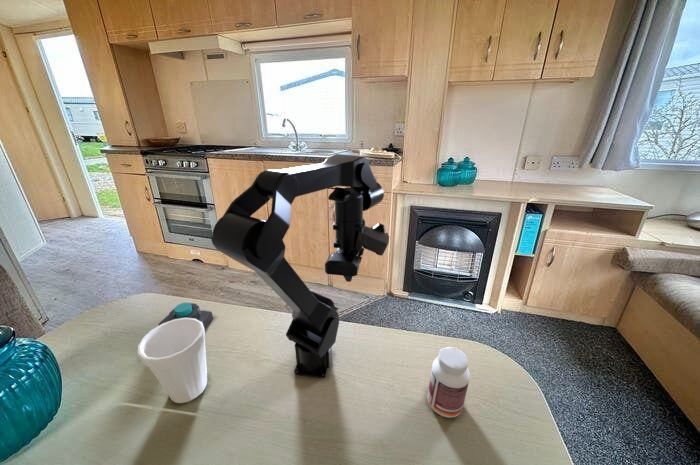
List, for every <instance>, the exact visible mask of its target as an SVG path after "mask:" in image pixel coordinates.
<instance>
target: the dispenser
mask: <svg viewBox="0 0 700 465" xmlns="http://www.w3.org/2000/svg"><path fill="white" fill-rule="evenodd" d="M189 303H190V304H191V306H192V310H193V311H192V313H191V314H189V315H187V316H186V317H181V318H195V319H197V320H199V321H200V322H202V324H203V326H204V329H206V328H207V326H208V325H209V324H210V323H211V322H212V321H213V319H214V315H213V312H212V311H210V310H201V307H200V305H198V304H197V303H192V302H189ZM174 319H180V318H178V317H176V315H175V311H174V308H173V309H171V311H170V312H169V313H168V315H166V316H165V317H164V318H163V319H162V320H161V321H160V322H159V323H157V324H158V325H157V326H159V325H161V324H163V323H166V322H168V321H171V320H174Z"/></svg>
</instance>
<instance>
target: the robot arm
mask: <svg viewBox="0 0 700 465" xmlns="http://www.w3.org/2000/svg"><path fill="white" fill-rule="evenodd" d="M367 160H368V159H367V157H366V156H363V155H362V156H361V155H354V154H353V155H351V154H341V153H336V154H335V153H334V154H333V155H330V156H328V157H327V158H326V159H325V160H324V161H323V162H321V163H315V164H309V165H301V166H294V167H289V168H282V169H265V170H263V171H261V172H260V173H259V174H258V175H256V177H255V179H254V180H253V182H252V184H251V185H250V186H249V187H248V188H246V190H244V191H243V192H242V193H240V194H239V195H238V196H237V197H236V198H234V199H233V200H232V201H231V203H230V204H229V206H228V207H227V208H226V210H225V212H224V214H223V215H222V216H221V217H220V218H219V219H218V221H217V222H216V223H215V224H214V227H213V230H212V237H211V240H210V241H211V243H212V245H213V247H214V248H215V249H216V250H217V251H218V252H220V253H222V254H224V255H225V256H227V257H228V258H230V259H232V260H233V261H235V262H237V263H239V264H240V265H243V266H245V267H247V268H249V269H251V270H252V271H253V272H255V273H256V274H257V275H258V276H259V277H260V278H261V280H263V282H264V283H266V284H267V285H268V286H269V288H271V290H273V291H274V293H276V295H278V297H280V298H281V300H282V301H283V302H284V303H285V304H286V305H287V306H288V307H289V308H290V309H291V310H292V312H291V317H292V320H291V322H290V325H289V326H288V328H287V331H286V333H285V336H286V338H287V339H288V340H289V341H291V342H293V343H294V352H295V361H296V362H295V363H296V365H295V368H294V370H293V373H294V375H295V376H303V377H311V378H319V379H325V378H326V376H327V372H328V369H330V368H331V364H332V360H333V355H332V354H333V351H332V350H333V348H332V347H333V346H334V345H335V343H336V340H337V335H338V330H339V325H340V319H339V318H340V316H339V313H338V310H339V307H337V306H336V305H335V303H334V301H333V300H332V299H331V298H329V297H327V296H324V295H322V294H320V293H317V292H315V291H313V290H310V288H309V287H308V285H307V284H306V283H305V282H304V281H303V279H302V278H301V277H300V276H299V274H298V273H297V272H296V270H295V269H294V268H293V266H292V265H291V264H290V263H289V261H288V260H287V259H286V256H285V253H286V244H285V242H284V240H283V239H284V238H285V236H286V234H287V232H288V230H289V229H290V226H291V215H292V214H291V212H292V205H293V202H294V201H295V199H296V198H299V197H301V196H306V195H309V194H312V193H316V192H319V191H323V190H326V189H330V188H334V189H333V191H332V192H331V193H330V194H329V196H328V197H327V199H328V200H329V201H332V202H333V201H334V223H333V224H332V230H333V231H335V240H334V241H333V249H337V250H336V251H335V252H334V251H332V253H330V254H329V255H328V257H327V259H326V261H325V263H324V272H325V274H326V275H333V276H342V277H343V278H344V280H345V281H346V282H349V283H351V282H352V281H353V277H357V276H358V273H359V270H360V264H361V262H362V259H363V257H362V256H363V255H364V251H365V250H367V251H370V252H372V253H374V254H375V255H377V256H380V257H381V256H384V253H385V252H386V250H387V247H388V245H389V243H390V235H389V233H388V232H386V227H385V226H386V225H385V224H383V223H380V222H378V223H377V224H375V225H374V226H367V225H366V220H365V218H364V217H363V216H364V212H365V211H368V210H370V209H372V208H373V207H375V206H377V205H379V204H381V203H382V201H383V199H384V196H385V191H384V189H383V187H382V185H381V184H380V183H379V182H378V181H377V176H376V175H375V176H374V172H373V171H372V168H371V165H370V164H369V163H368V162H367ZM270 200H272V201H271V209H270V213H269V216H268V217H267V219H266V220H264V219H260V218H257V217H253V215H254V214H255V213H257V211H259V210H260V209H261V208H262V207H264V206H265V205H266V204H267V203H268V202H269V201H270Z"/></svg>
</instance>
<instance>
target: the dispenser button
mask: <svg viewBox="0 0 700 465" xmlns="http://www.w3.org/2000/svg"><path fill="white" fill-rule="evenodd" d="M190 303H191V302H182V303H179V304H177V305H176V306H175V307H174V308H173V309H174V311H175V315H176V317H178V318H181V317H186V316H187V315H189V314H191V313H192V311H193V310H192V306H191V304H190Z"/></svg>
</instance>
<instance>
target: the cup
mask: <svg viewBox="0 0 700 465" xmlns="http://www.w3.org/2000/svg"><path fill="white" fill-rule="evenodd" d="M205 339H206V330H205V328H204V326H203V324H202V322H200V321H199V320H197V319H195V318H180V319H174V320H171V321H168V322H166V323H163V324H161V325H157V326H156V327H154V328H152V329H151V330H150V331H148V333H146V334H145V335H144V336H143V337H142V339H141V340H140V342H139V343H138V345H137V347H136V350H137V356H138V358H139V359H140V361H141V362H142V364H144V365H145V366H146V367H147V368H149V369H150V371H151V372H152V373H153V375H154V376H155V377H156V379H157V381H158V382H159V384H160V385H161V386H162V388H163V389H164V390H165V392H166V393H167V394H168V396H169V398H170V400H171V401H172V402H173V403H176V404H184V403H189V402H191V401H193V400H194V399H196V398H198V396H200V395H201V394H202V393H203V392H204V390H205V389H206V388H207V384H208V372H207V371H208V370H207V355H206V354H207V353H206V341H205Z"/></svg>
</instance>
